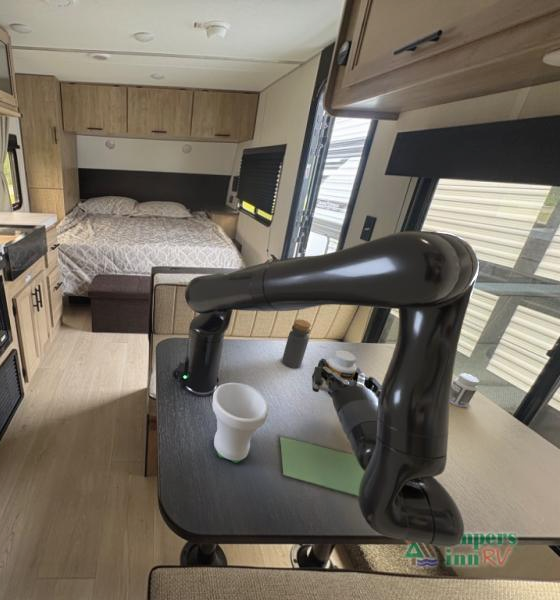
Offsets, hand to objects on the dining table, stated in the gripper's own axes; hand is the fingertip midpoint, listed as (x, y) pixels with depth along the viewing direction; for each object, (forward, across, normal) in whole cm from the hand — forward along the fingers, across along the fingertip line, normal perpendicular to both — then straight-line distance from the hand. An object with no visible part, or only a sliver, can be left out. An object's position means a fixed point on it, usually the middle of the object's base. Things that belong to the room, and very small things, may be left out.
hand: (336, 364), depth 69 cm
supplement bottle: (-3, 0, +6) cm, 7 cm away
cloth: (-14, +1, +17) cm, 22 cm away
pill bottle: (+20, -41, +17) cm, 49 cm away
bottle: (+24, +3, +17) cm, 30 cm away
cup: (-15, +21, +18) cm, 31 cm away
